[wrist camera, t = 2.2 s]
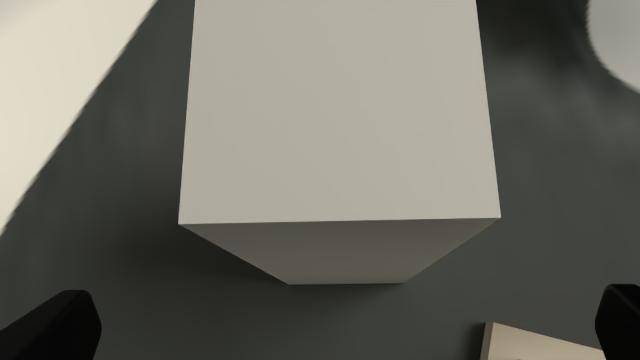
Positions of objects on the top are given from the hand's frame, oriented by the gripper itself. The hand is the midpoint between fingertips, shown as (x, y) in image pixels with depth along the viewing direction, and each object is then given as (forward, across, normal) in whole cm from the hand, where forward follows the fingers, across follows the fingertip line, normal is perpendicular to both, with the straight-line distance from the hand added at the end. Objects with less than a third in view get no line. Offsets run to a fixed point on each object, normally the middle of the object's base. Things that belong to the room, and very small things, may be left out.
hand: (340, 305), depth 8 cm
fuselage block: (+10, 0, +5) cm, 11 cm away
